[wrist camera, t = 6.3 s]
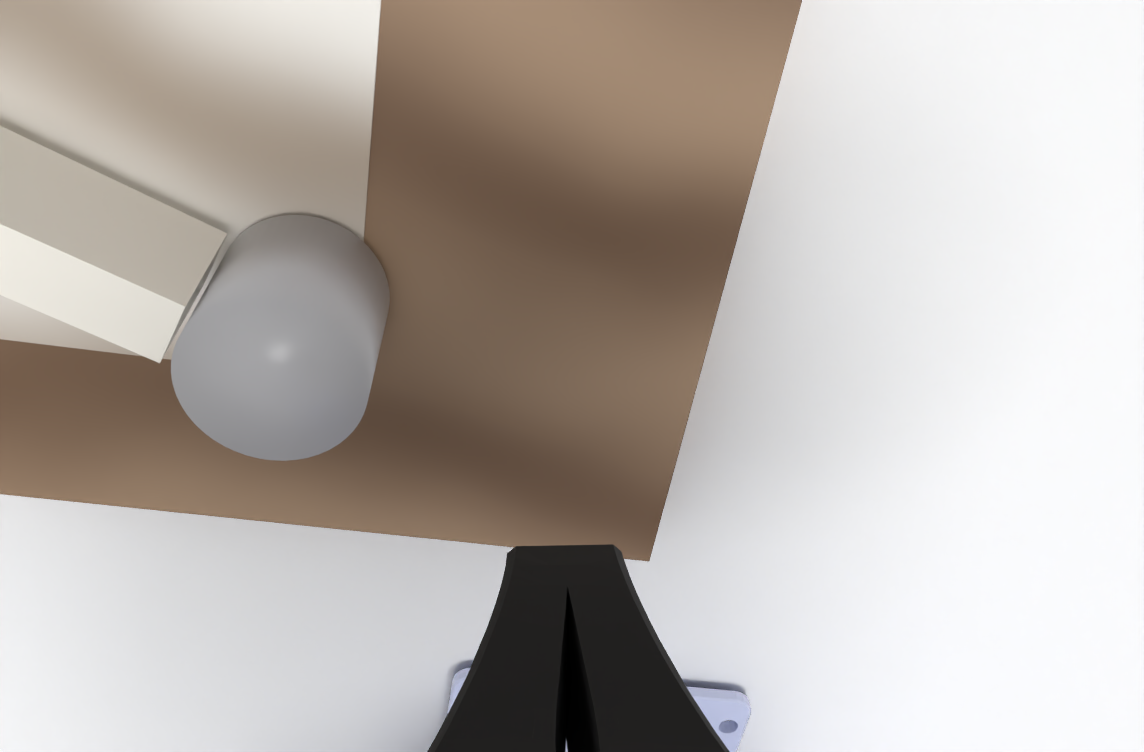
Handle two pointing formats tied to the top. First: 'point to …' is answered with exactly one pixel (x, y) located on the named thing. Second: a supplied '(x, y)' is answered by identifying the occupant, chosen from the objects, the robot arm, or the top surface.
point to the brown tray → (411, 244)
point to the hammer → (201, 300)
